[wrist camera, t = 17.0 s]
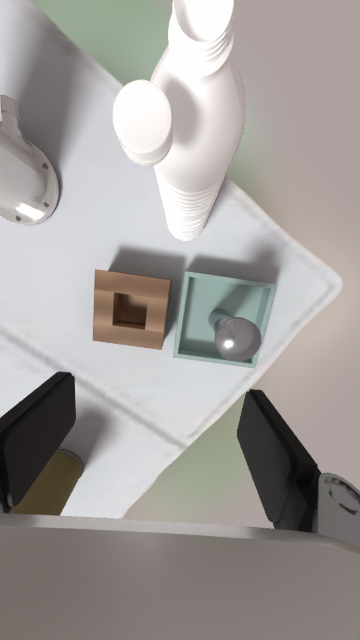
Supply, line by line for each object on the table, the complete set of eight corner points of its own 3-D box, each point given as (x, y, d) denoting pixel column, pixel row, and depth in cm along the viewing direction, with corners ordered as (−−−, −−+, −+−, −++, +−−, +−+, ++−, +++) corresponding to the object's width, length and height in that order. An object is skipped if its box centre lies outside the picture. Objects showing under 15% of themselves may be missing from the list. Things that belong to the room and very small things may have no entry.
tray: (184, 272, 33) (185, 271, 29) (267, 283, 33) (276, 284, 30) (173, 349, 36) (172, 357, 33) (248, 360, 36) (255, 368, 33)
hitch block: (107, 270, 33) (95, 269, 28) (171, 280, 33) (170, 280, 28) (104, 332, 35) (92, 340, 30) (164, 340, 36) (161, 349, 31)
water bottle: (181, 192, 30) (181, -207, 5) (212, 216, 31) (333, -37, 6) (153, 237, 31) (56, 91, 7) (183, 259, 32) (189, 196, 8)
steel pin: (206, 302, 33) (220, 316, 21) (236, 307, 33) (266, 322, 21) (201, 331, 34) (212, 358, 22) (229, 335, 34) (255, 364, 23)
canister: (63, 441, 41) (-41, 585, 22) (92, 470, 43) (19, 626, 24) (30, 462, 43) (-95, 613, 23) (59, 489, 45) (-34, 650, 25)
